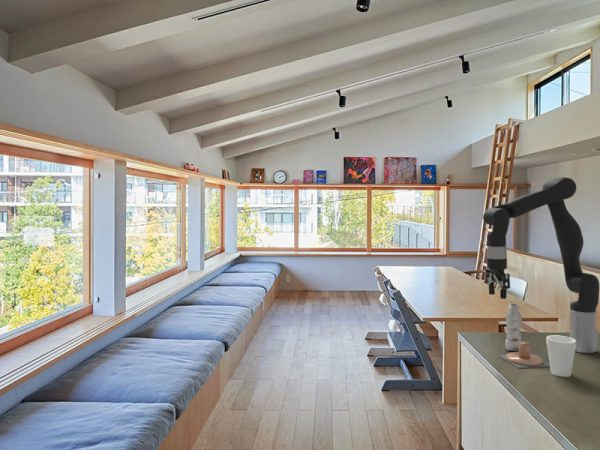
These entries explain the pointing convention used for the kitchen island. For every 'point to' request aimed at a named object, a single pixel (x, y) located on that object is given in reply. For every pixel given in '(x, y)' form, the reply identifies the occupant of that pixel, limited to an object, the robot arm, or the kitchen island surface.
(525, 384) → the kitchen island surface
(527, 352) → the lid
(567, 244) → the robot arm
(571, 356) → the foam cup
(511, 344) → the plastic bottle
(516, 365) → the mat
